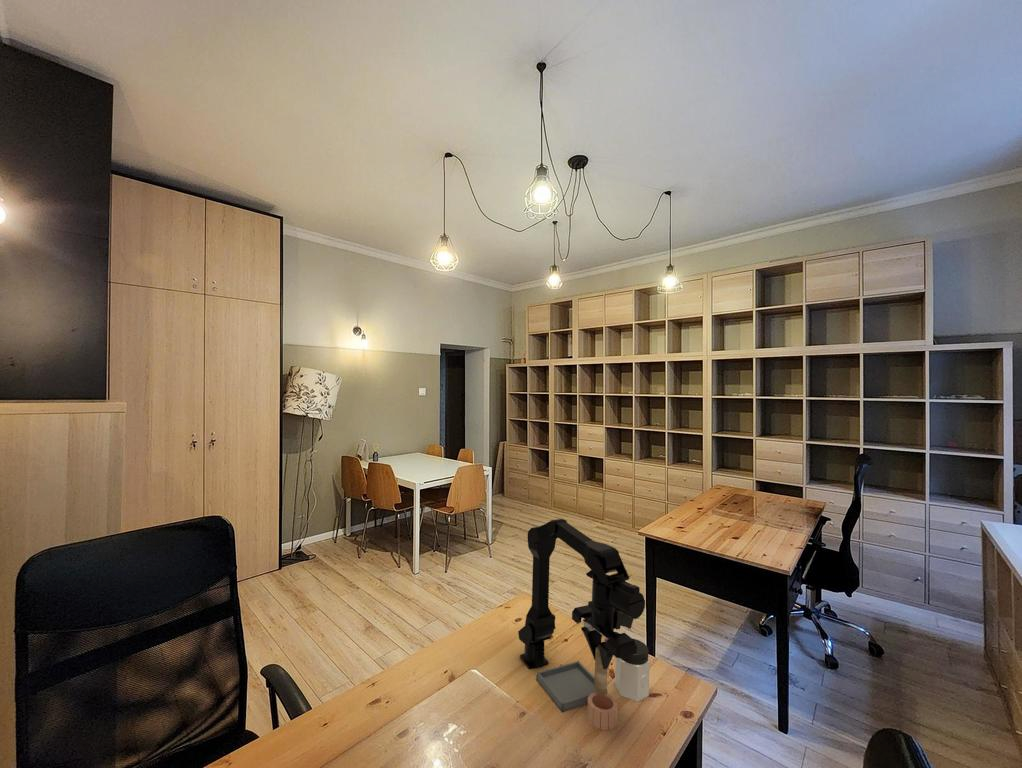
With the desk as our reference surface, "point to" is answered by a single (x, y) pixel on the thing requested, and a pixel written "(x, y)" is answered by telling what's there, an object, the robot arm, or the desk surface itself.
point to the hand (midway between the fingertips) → (601, 664)
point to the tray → (567, 685)
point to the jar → (633, 674)
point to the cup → (602, 711)
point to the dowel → (600, 675)
